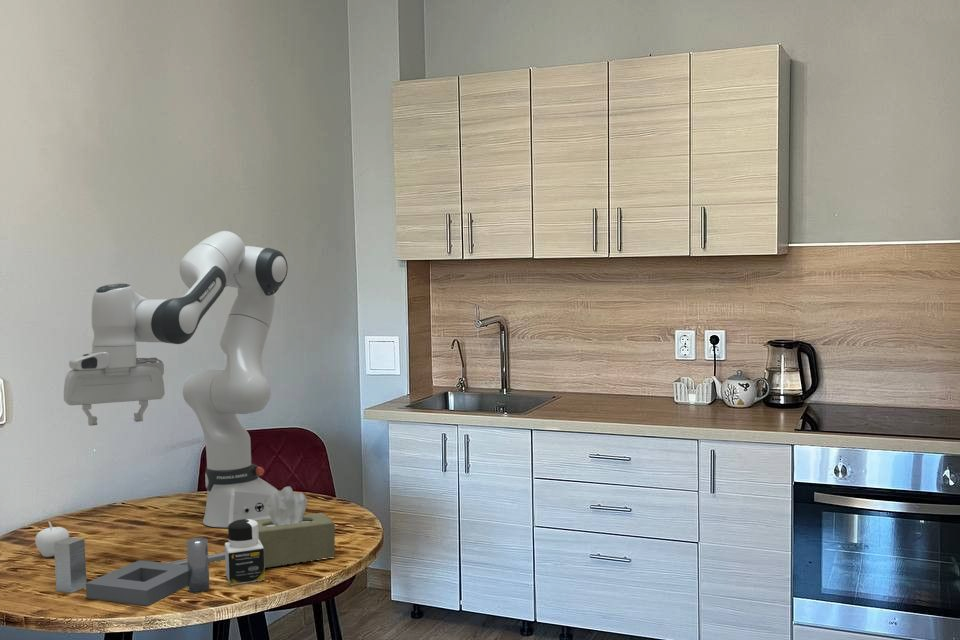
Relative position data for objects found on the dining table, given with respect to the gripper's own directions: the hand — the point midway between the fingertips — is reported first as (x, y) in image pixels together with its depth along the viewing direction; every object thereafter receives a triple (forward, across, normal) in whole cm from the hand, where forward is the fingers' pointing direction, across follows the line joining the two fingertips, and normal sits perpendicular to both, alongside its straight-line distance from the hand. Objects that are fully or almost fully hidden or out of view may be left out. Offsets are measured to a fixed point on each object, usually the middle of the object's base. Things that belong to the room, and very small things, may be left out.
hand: (116, 423), depth 195 cm
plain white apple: (+32, +9, -22) cm, 40 cm away
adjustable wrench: (+32, -19, +6) cm, 38 cm away
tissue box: (+31, -32, +17) cm, 48 cm away
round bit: (+32, -10, +24) cm, 41 cm away
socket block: (+32, -1, +16) cm, 36 cm away
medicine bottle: (+32, -19, +23) cm, 44 cm away
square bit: (+32, +11, +6) cm, 35 cm away
